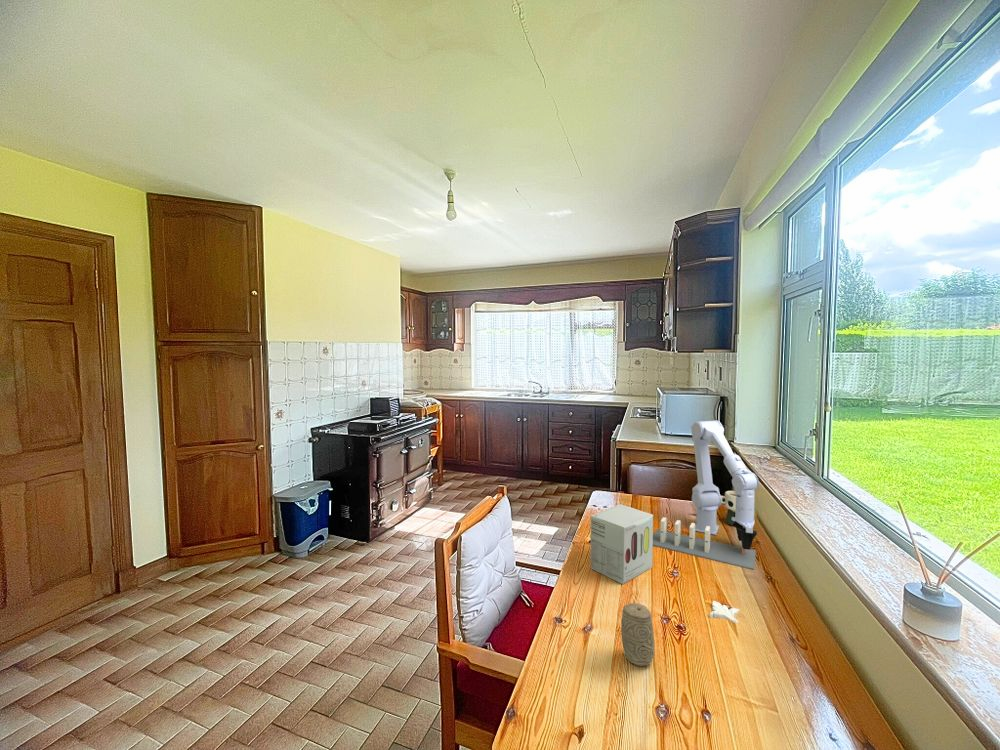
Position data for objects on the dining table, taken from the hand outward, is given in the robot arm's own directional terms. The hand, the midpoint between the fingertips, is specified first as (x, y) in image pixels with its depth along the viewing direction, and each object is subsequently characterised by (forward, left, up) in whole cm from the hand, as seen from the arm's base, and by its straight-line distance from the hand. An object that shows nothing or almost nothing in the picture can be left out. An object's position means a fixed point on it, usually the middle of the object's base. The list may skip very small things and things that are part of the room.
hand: (744, 544), depth 147 cm
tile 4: (+6, -11, -2) cm, 13 cm away
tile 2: (+6, -21, -2) cm, 22 cm away
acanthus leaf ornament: (+43, -2, -4) cm, 43 cm away
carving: (+73, -17, -3) cm, 75 cm away
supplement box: (+34, -33, -3) cm, 48 cm away
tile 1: (+6, -26, -2) cm, 27 cm away
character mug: (-26, -5, -3) cm, 27 cm away
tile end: (0, 0, -2) cm, 2 cm away
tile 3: (+6, -16, -2) cm, 17 cm away
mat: (+4, -14, -3) cm, 14 cm away
